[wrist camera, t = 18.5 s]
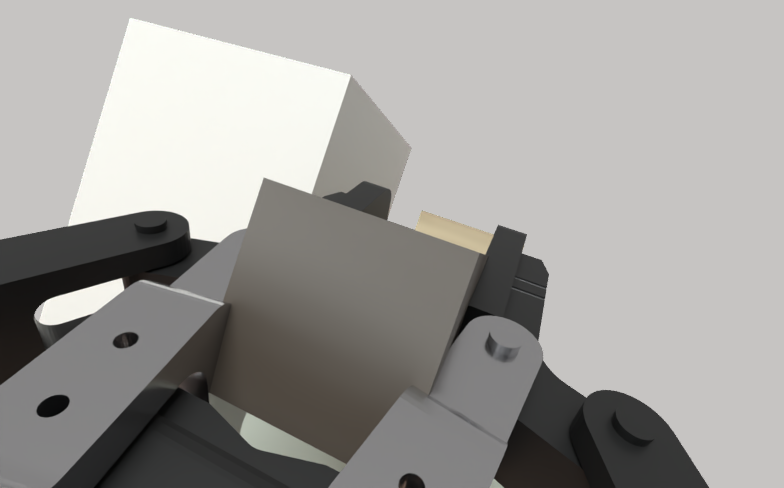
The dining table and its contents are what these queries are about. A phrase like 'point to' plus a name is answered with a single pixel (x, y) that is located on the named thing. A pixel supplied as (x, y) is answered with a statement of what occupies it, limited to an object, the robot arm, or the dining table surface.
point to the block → (340, 314)
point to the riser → (224, 153)
